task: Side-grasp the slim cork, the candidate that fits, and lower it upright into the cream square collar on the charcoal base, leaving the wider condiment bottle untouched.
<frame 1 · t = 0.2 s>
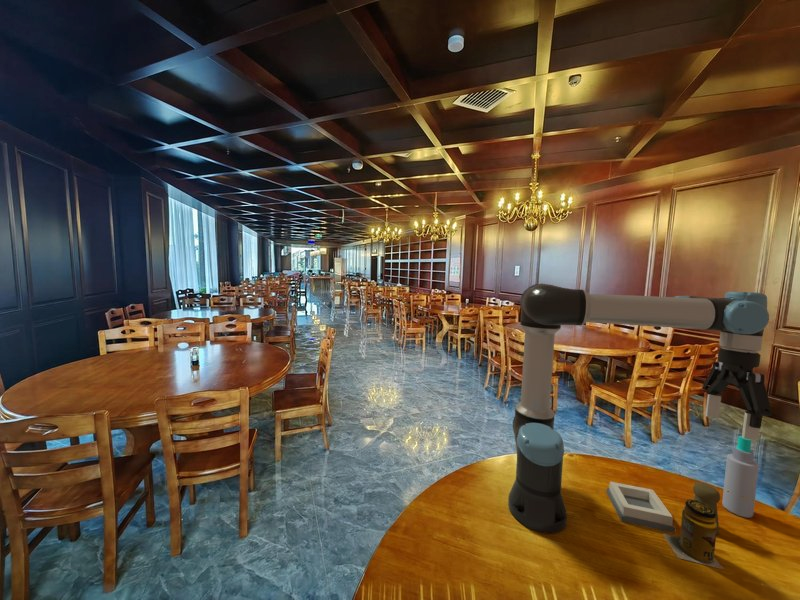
hand: (729, 427, 82), 27 cm above the table, tool pointing down, fingers open, 13 cm apart
collar holder: (637, 511, 87), on the table
condiment: (691, 551, 75), on the table
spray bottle: (737, 511, 88), on the table
cork: (703, 525, 83), on the table
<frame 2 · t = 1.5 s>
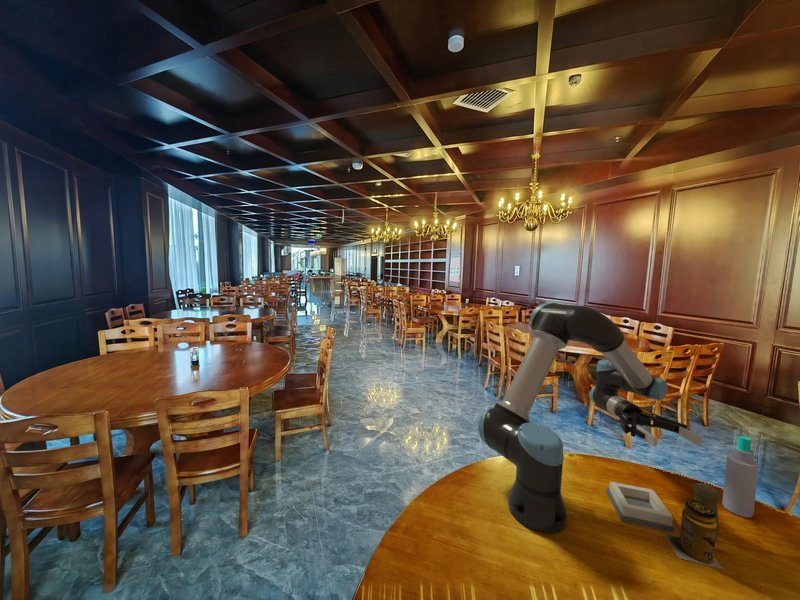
hand: (678, 442, 90), 19 cm above the table, tool horizontal, fingers open, 13 cm apart
nothing on the table moved.
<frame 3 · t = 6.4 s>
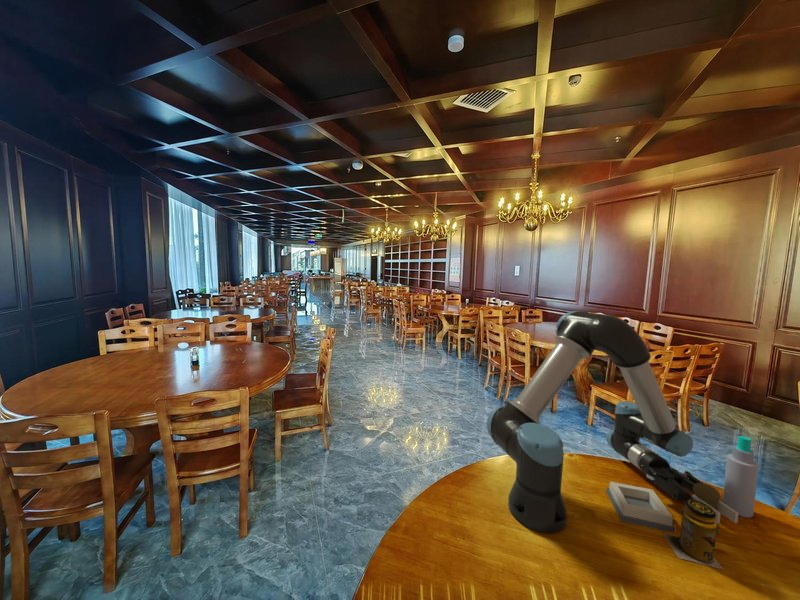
hand: (727, 518, 77), 7 cm above the table, tool horizontal, fingers closed on cork, 4 cm apart
cork: (703, 525, 83), on the table, touching gripper
everything else where it was.
when the fingers open (9 cm above the table, at t = 11.1 s): cork moves 1 cm, resting on collar holder.
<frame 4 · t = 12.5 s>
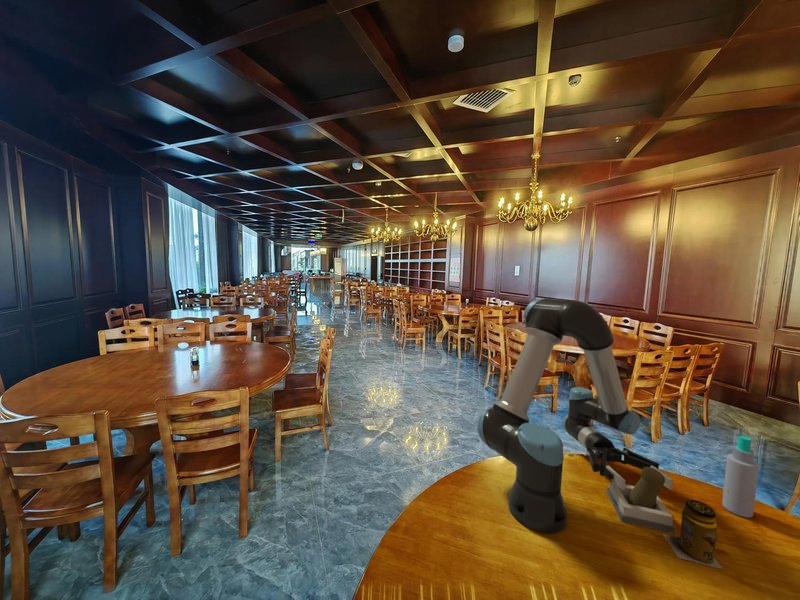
hand: (647, 484, 84), 10 cm above the table, tool horizontal, fingers open, 13 cm apart
cork: (640, 503, 87), point 2 cm above the table, touching collar holder
everything else where it was.
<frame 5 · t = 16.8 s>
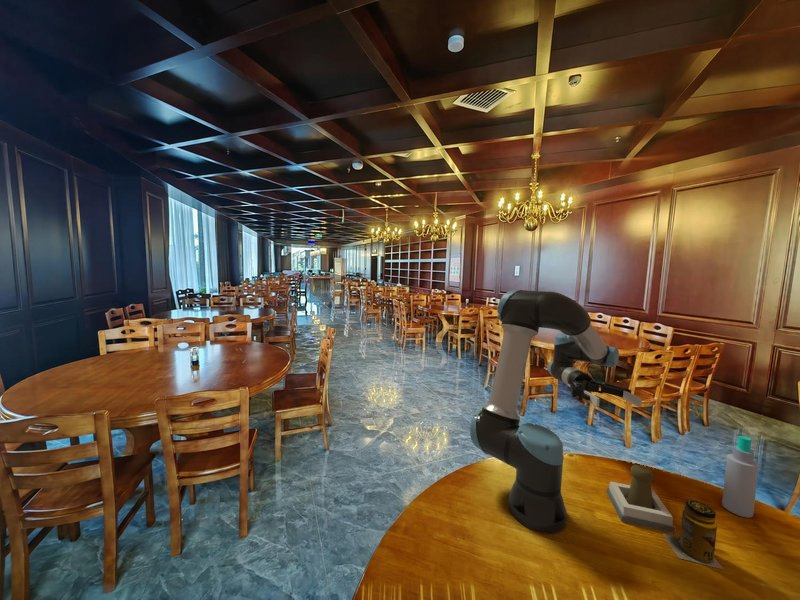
hand: (619, 402, 95), 28 cm above the table, tool horizontal, fingers open, 13 cm apart
at the end: cork 1.0 cm off-centre on the collar holder, point 1.5 cm above the collar holder's base; cork tilted 3°; the gripper is holding nothing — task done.
